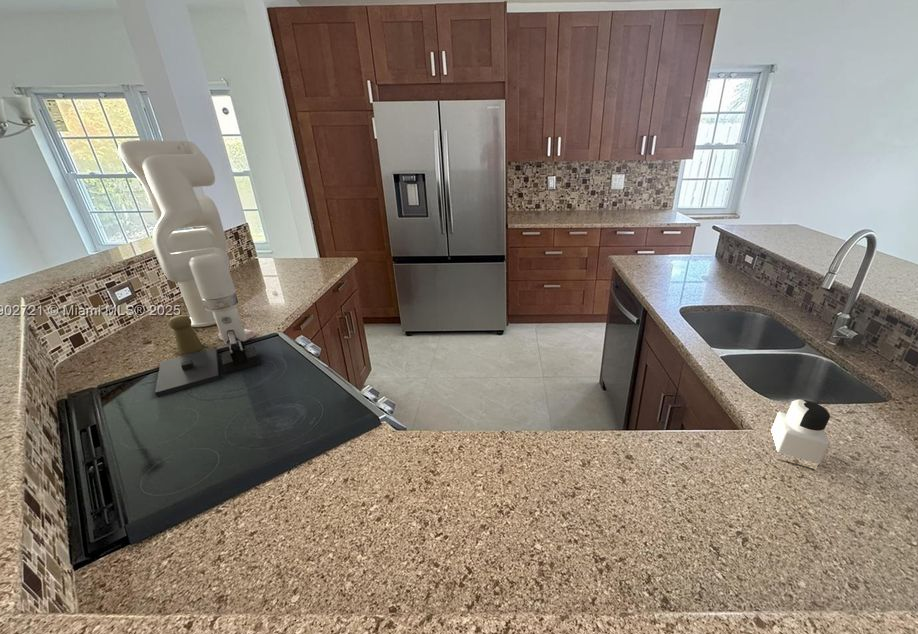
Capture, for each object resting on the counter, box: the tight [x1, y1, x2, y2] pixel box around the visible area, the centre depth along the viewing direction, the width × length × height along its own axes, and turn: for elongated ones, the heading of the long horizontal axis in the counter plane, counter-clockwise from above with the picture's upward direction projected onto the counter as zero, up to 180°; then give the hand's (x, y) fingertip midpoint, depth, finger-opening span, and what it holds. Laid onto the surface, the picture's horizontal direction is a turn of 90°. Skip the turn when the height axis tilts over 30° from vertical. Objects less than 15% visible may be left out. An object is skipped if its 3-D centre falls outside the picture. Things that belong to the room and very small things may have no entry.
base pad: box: [154, 347, 221, 397], centre depth 102 cm, size 18×13×3 cm
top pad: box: [221, 346, 260, 374], centre depth 105 cm, size 6×8×3 cm
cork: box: [168, 314, 204, 355], centre depth 111 cm, size 6×6×11 cm
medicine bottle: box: [770, 399, 831, 465], centre depth 74 cm, size 7×7×12 cm
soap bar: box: [217, 328, 255, 343], centre depth 119 cm, size 5×9×2 cm, turn 73°
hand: (240, 356), depth 105 cm, fingers open, 9 cm apart
